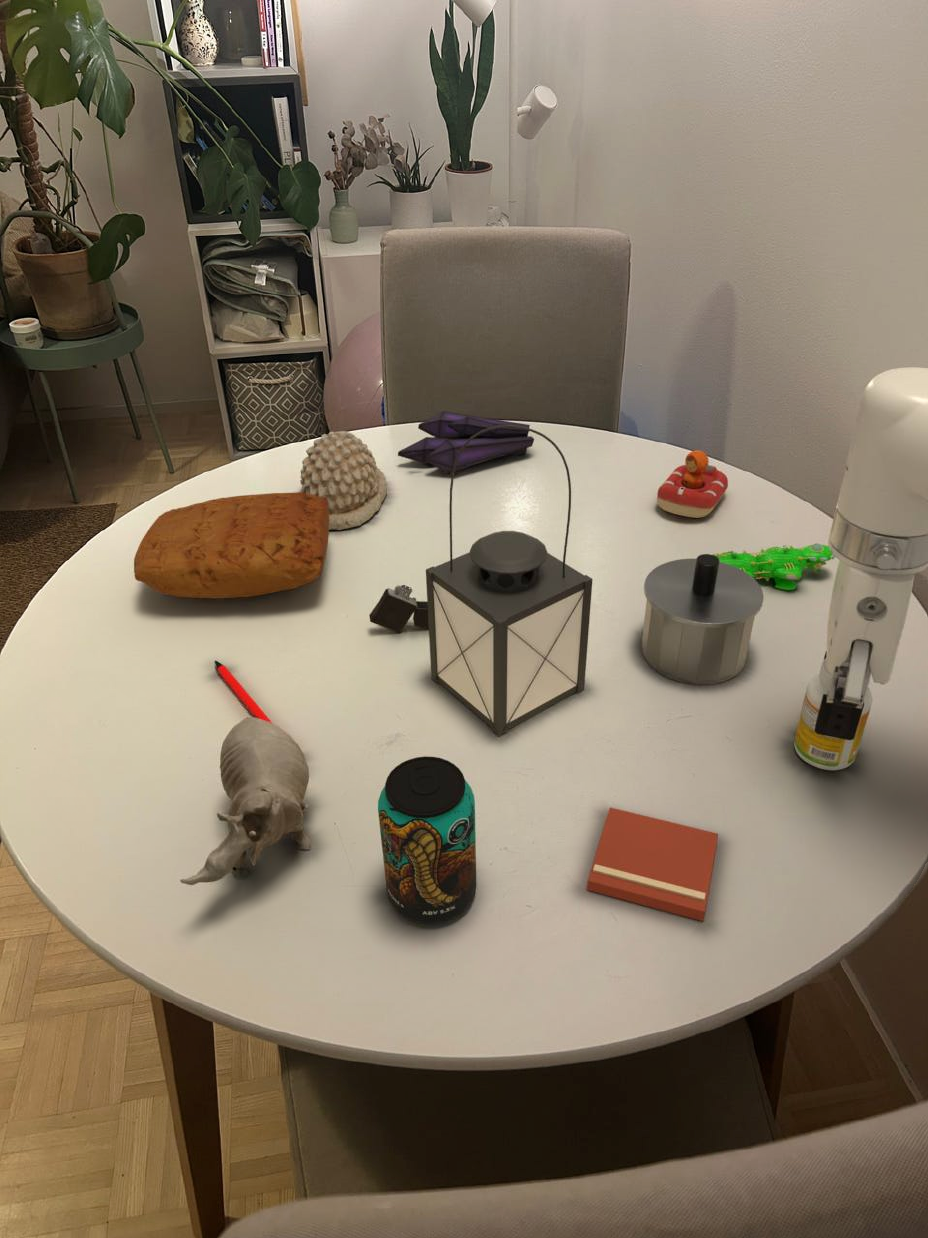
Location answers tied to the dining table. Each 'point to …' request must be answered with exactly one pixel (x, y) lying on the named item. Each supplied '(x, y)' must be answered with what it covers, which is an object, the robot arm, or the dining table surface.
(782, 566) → the green elongated plastic piece
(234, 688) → the pen
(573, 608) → the lantern
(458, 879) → the beverage can
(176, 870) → the dining table surface
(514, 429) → the crystal
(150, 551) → the cuneiform tablet
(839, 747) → the supplement bottle
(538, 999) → the dining table surface
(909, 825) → the dining table surface
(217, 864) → the grey rounded figure
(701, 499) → the toy boat
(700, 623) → the pot lid
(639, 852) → the book
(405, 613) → the lighter
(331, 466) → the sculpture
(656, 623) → the pot
